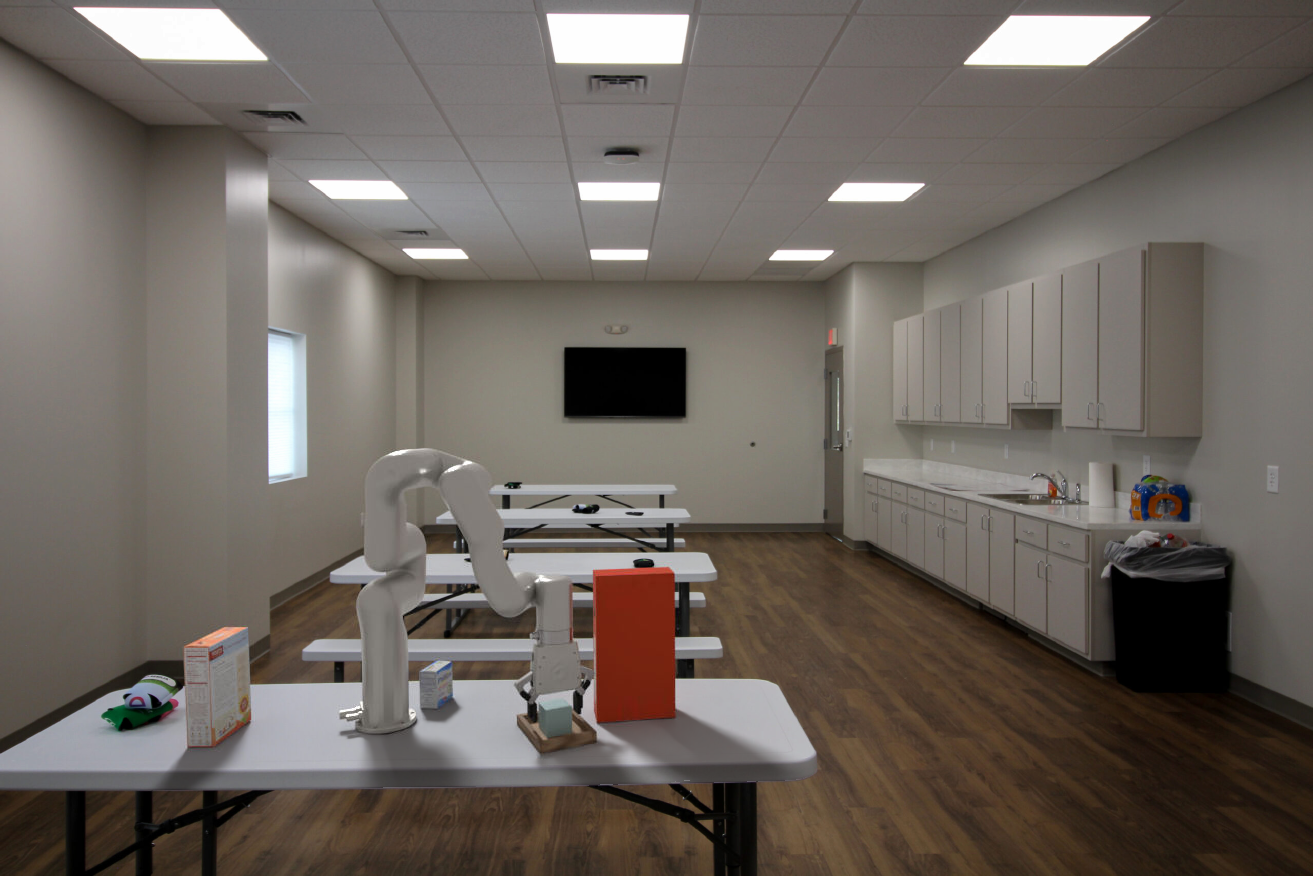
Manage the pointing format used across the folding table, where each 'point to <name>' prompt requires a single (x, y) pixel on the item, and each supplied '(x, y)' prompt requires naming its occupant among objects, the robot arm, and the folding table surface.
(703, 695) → the folding table surface
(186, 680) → the cracker box
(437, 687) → the medicine box
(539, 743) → the walnut tray
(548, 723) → the teal cube
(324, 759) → the folding table surface
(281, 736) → the folding table surface
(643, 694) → the tall orange-red block
